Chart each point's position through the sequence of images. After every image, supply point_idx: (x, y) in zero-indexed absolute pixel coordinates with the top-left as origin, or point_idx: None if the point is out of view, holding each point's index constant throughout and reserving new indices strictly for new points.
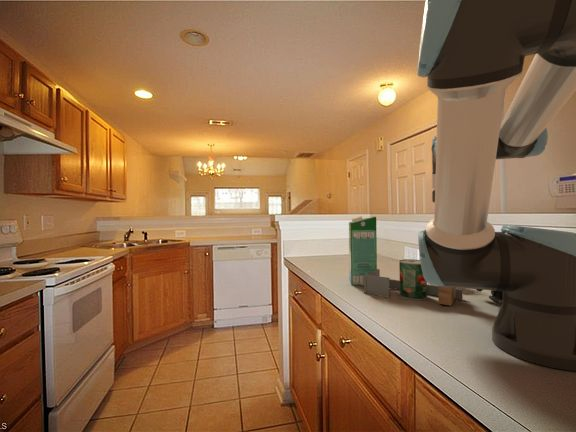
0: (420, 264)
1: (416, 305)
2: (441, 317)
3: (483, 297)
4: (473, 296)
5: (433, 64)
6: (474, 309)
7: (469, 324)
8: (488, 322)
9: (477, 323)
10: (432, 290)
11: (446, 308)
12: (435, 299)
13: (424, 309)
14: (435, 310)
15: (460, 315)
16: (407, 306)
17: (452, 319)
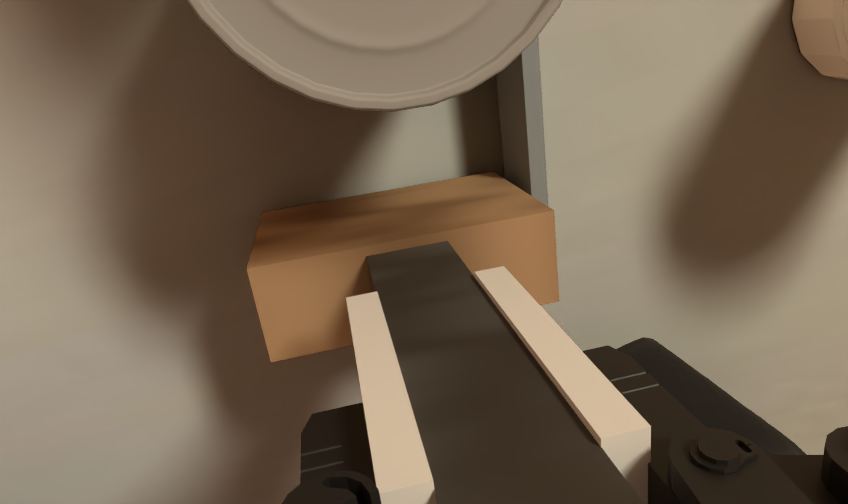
0: (262, 71)
1: (117, 93)
2: (18, 317)
3: (651, 334)
4: (639, 288)
5: None
6: (353, 381)
7: (49, 452)
8: (175, 492)
9: (106, 469)
10: (509, 76)
11: (235, 270)
12: (392, 138)
13: (77, 177)
14: (126, 238)
15: (166, 372)
16: (24, 49)
17: (45, 370)
